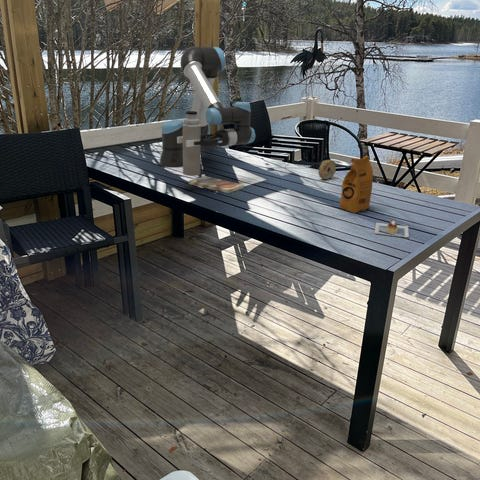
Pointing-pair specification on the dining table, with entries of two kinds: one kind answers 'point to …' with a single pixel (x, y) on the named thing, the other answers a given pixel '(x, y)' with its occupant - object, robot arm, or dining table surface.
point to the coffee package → (357, 186)
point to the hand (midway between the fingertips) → (182, 141)
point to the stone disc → (327, 169)
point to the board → (216, 184)
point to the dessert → (392, 229)
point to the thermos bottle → (192, 153)
